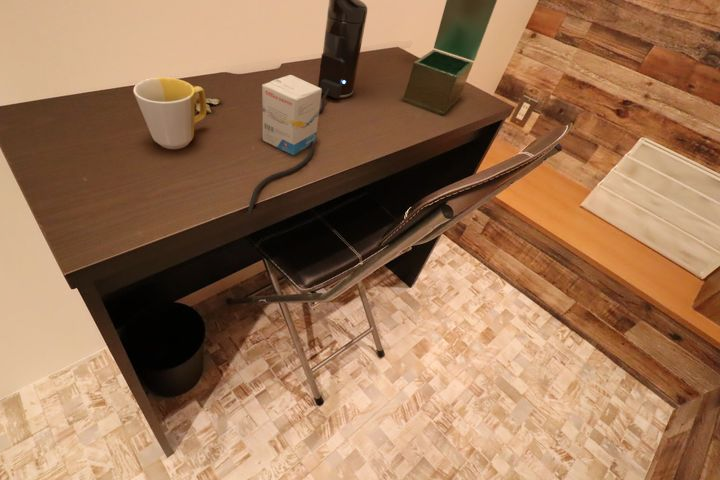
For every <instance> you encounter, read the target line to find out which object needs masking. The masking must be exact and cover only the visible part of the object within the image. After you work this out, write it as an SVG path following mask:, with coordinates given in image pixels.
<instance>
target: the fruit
mask: <svg viewBox="0 0 720 480" xmlns="http://www.w3.org/2000/svg"><path fill="white" fill-rule="evenodd" d="M191 85H192V86H193V87H196V86H197V85H194V84H191ZM205 98H206V114H208V113H209V114H210V113H212V109H211V106H210V105H209V104H211V105H212V104H213V105H214V106H215V105H218V104H220V102H221V100H220V99H219V98H209V97H205ZM195 110H196V112H198V113H200V99H199V93H196V94H195Z"/></svg>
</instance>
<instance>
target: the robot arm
mask: <svg viewBox="0 0 720 480" xmlns="http://www.w3.org/2000/svg"><path fill="white" fill-rule="evenodd" d="M367 16H368V5H367V4H366V3H364V2H363V1H361V0H328V5H327V16H326V24H325V32H324V39H323V50H322V53H321V57H320V64H319V65H320V66H319V75H318V84H317V87H319V88H321V89H322V92H321V95H322V97H321V101H320V109H319V114H321V113H322V112H323V111H324V109H325V102H326V98H327V97H328V98H331V99H333V100H336V101H338V100H340V99H349V98H351V97H352V96H353V93H354V87H355V81H356V75H357V71H358V65H359V59H360V54H361V48H362V43H363V37H364V32H365V27H366V21H367V18H368V17H367ZM314 152H315V143H314V142H313V141H312V142H311V143H310V149H309V153H308V154H307V156H306V157H305V158H304V159H303V160H302V161H301V162H299V163H298V164H296V165H295V166H293V167H291V168H288V169H286V170H282V171H279V172H276V173H273V174H271V175H269V176H267V177H266V178H264V179H263V180H262V181H261V182H260V183H258V184H257V185H256V187H255V189H253V192H252V195H251V198H250V202H249V205H248V208H247V215H251V214H252V213H253V210H254V208H255V204H256V200H257V197H258V194H259V192H260V191H261V189H262V188H263V187H264V186H265V185H266V184H267V183H269V182H270V181H272V180H275V179H277V178H280V177H283V176H287V175H289V174H292V173H294V172H297V171H298V170H299V169H301V168H302V167H303V166H304V165H306V164H307V163H308V162H309V161H310V160H311V158H312V157H313V155H314Z"/></svg>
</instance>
